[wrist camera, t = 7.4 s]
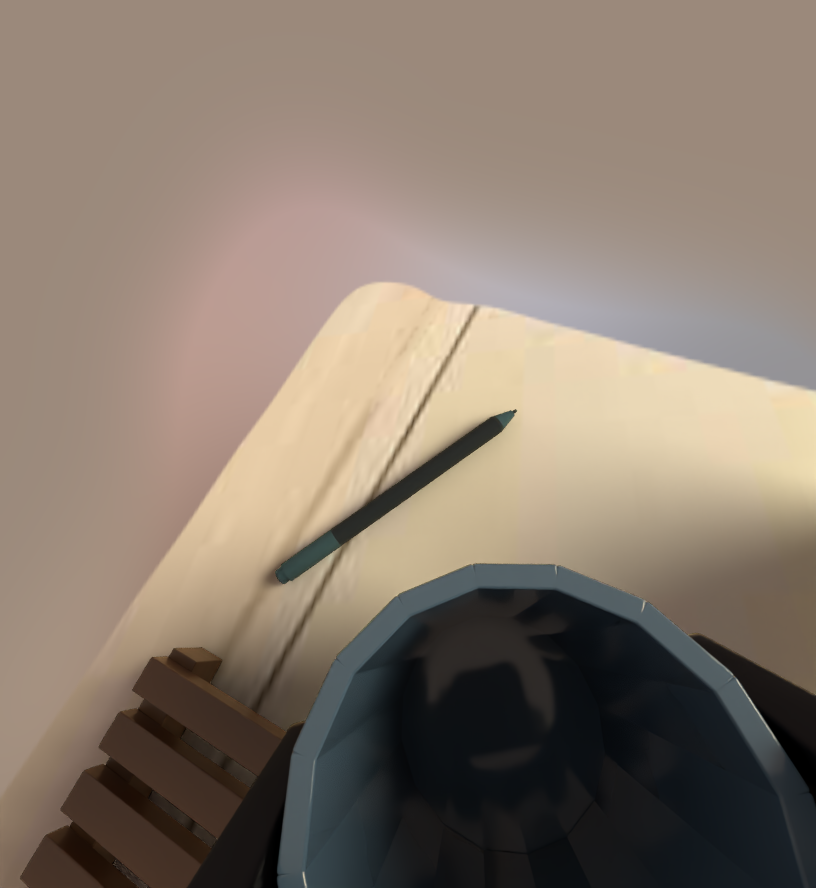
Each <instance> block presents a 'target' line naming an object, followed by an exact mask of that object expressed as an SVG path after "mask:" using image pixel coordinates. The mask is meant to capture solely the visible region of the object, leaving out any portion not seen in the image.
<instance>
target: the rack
mask: <svg viewBox="0 0 816 888" xmlns="http://www.w3.org/2000/svg"><path fill="white" fill-rule="evenodd" d="M221 662H222V659H220V658H219V657H217V656H215V655H214V654H212V653H210V652H209V651H207V650H205V649H204V648H202V647H199V648H174V649H173V650H172V652H171V654H170V655H169V657H167V656H163V657H152V658H151V659H150V661H149V662H148V664H147V666H146V667H145V669H144V671H143V672H142V674H141V676H140V677H139V679H138V681H137V682H136V684H135V686H134V687H133V689H132V691H134V692H135V693H137V694H138V695H140V696H141V697H142V698H144V700H143V702H142V703H141V705H140V707H139V708H138V709H136V708H134V709H129V710H125V711H120V712H119V713H118V715H117V716H116V718H115V720H114V721H113V723H112V725H111V726H110V728H109V730H108V731H107V733H106V735H105V736H104V738H103V740H102V741H101V743H100V745H99V748H100V749H101V750H102V751H104V752H105V753H106V754H107V755H109V756H110V758H109V760H108V762H107V763H106V765H104V764H101V765H98V766H95V767H92V768H89V769H86V770H84V771H83V773H82V774H81V776H80V778H79V779H78V781H77V783H76V784H75V786H74V788H73V789H72V791H71V793H70V794H69V796H68V798H67V799H66V801H65V803H64V804H63V806H62V808H61V811H62V812H63V813H64V814H65V815H67V816H68V817H69V818H70V819H71V820H72V823H71V825H70V826H64V827H62V828H60V829H58V830H56V831H54V832H51V833H49V834H47V835H46V836H45V837H44V838H43V840H42V842H41V843H40V845H39V847H38V848H37V850H36V852H35V853H34V855H33V857H32V858H31V860H30V862H29V863H28V865H27V867H26V868H25V870H24V872H23V873H22V875H21V877H20V879H21V880H22V881H23V882H24V883H25V884H26V885H27V886H28V887H29V888H139V887H138V886H136V885H135V884H134V883H133V882H132V881H131V880H130V879H128V878H127V877H126V876H125V875H124V874H123V873H122V872H120V871H119V870H118V869H117V868H116V867H115V866H114V865H112V864H113V862H114V860H115V858H116V859H118V860H119V861H120V862H121V863H122V864H123V865H125V866H126V867H127V868H128V869H129V870H130V871H131V872H133V873H134V874H135V875H136V876H137V877H138V878H140V879H141V880H142V881H143V882H144V883H145V884H147V885H148V886H149V887H150V888H186V887H187V886H188V884H189V883H190V881H191V880H192V878H193V877H194V875H195V873H196V872H197V870H198V869H199V867H200V866H201V864H202V863H203V861H204V859H205V858H206V856H207V855H208V853H209V852H210V850H211V849H212V848H211V847H210V846H208V845H207V844H206V843H204V842H203V841H202V840H201V839H199V838H198V837H197V836H195V835H194V834H193V833H192V832H190V831H189V830H188V829H186V828H185V827H184V826H183V825H181V824H180V823H179V822H177V821H176V820H175V819H174V818H172V817H171V816H170V815H168V814H167V813H166V812H165V811H163V810H162V809H161V808H159V807H158V806H157V805H156V804H154V803H153V802H152V801H150V800H149V799H148V797H149V795H150V793H151V791H152V790H154V791H156V792H157V793H158V794H160V795H161V796H162V797H164V798H165V799H166V800H167V801H169V802H170V803H171V804H173V805H174V806H175V807H177V808H178V809H179V810H181V811H182V812H183V813H184V814H186V815H187V816H188V817H190V818H191V819H192V820H194V821H195V822H196V823H198V824H199V825H200V826H201V827H203V828H204V829H205V830H207V831H208V832H209V833H211V834H212V835H213V836H214V837H216V838H217V839H218V838H219V836H220V834H221V833H222V831H223V830H224V828H225V827H226V825H227V824H228V822H229V820H230V819H231V817H232V816H233V814H234V813H235V811H236V810H237V808H238V806H239V805H240V803H241V802H242V800H243V799H244V797H245V796H246V794H247V792H248V791H249V789H250V788H249V787H248V786H247V785H245V784H244V783H242V782H241V781H239V780H238V779H237V778H235V777H234V776H232V775H231V774H229V773H228V772H227V771H225V770H224V769H222V768H221V767H219V766H218V765H217V764H215V763H214V762H212V761H211V760H209V759H208V758H207V757H205V756H204V755H202V754H201V753H199V752H198V751H197V750H195V749H194V748H192V747H191V746H189V745H188V744H187V743H185V742H184V741H182V740H181V739H180V738H181V736H182V734H183V732H184V730H185V729H186V728H188V729H189V730H191V731H192V732H194V733H195V734H197V735H198V736H199V737H201V738H202V739H204V740H205V741H207V742H208V743H210V744H211V745H213V746H214V747H216V748H217V749H218V750H220V751H221V752H223V753H224V754H226V755H227V756H229V757H230V758H232V759H233V760H235V761H236V762H237V763H239V764H240V765H242V766H243V767H245V768H246V769H248V770H249V771H251V772H252V773H254V774H255V775H256V776H258V775H259V774H260V772H261V771H262V769H263V767H264V766H265V764H266V763H267V761H268V760H269V758H270V757H271V755H272V753H273V752H274V750H275V749H276V747H277V746H278V744H279V743H280V741H281V739H282V738H283V736H284V735H285V733H286V731H284V730H283V729H281V728H280V727H278V726H276V725H275V724H273V723H272V722H270V721H269V720H267V719H265V718H264V717H262V716H261V715H259V714H257V713H256V712H254V711H253V710H251V709H249V708H248V707H246V706H245V705H243V704H242V703H240V702H238V701H237V700H235V699H234V698H232V697H230V696H229V695H227V694H226V693H224V692H222V691H221V690H219V689H218V688H216V687H215V686H213V685H211V684H210V682H211V680H212V679H213V677H214V675H215V673H216V671H217V669H218V668H219V666H220V664H221Z"/></svg>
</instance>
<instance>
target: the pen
mask: <svg viewBox="0 0 816 888" xmlns="http://www.w3.org/2000/svg"><path fill="white" fill-rule="evenodd" d="M516 412H517V410H516V409H515V410H513V411H511V410H510V411H508V412H505V413H502V414H499V415H496V416H493V417H491V418H489V419H488V420H486V421H485V422H483V423H482V424H481V425H479V426H478V427H476V428H475V429H473V430H472V431H471V432H469V433H468V434H466V435H465V436H463V437H462V438H461V439H459V440H458V441H456V442H455V443H454V444H452V445H451V446H449V447H448V448H446V449H445V450H444V451H442V452H441V453H439V454H438V455H436V456H435V457H434V458H432V459H431V460H429V461H428V462H426V463H425V464H424V465H422V466H421V467H419V468H418V469H416V470H415V471H414V472H412V473H411V474H409V475H408V476H407V477H405V478H404V479H402V480H401V481H399V482H398V483H397V484H395V485H394V486H392V487H391V488H389V489H388V490H387V491H385V492H384V493H382V494H381V495H379V496H378V497H377V498H375V499H374V500H372V501H371V502H369V503H368V504H367V505H365V506H364V507H362V508H361V509H360V510H358V511H357V512H355V513H354V514H352V515H351V516H350V517H348V518H347V519H345V520H344V521H342V522H341V523H340V524H338V525H337V526H335V527H334V528H332V529H331V530H330V531H328V532H327V533H325V534H324V535H322V536H321V537H320V538H318V539H317V540H315V541H314V542H313V543H311V544H310V545H308V546H307V547H305V548H304V549H303V550H301V551H300V552H298V553H297V554H295V555H294V556H293V557H291V558H290V559H288V560H287V561H285V562H284V563H283V564H281V567H280V568H279V569H277V570H276V571H275V574H276V577H277V579H278V580H279V581H280V582H281V583H282V584H285V583H287V582H288V581H289V580H290V581H292V580H294V579H295V578H297V577H298V576H299V575H301V574H302V573H304V572H305V571H306V570H308V569H309V568H311V567H312V566H314V565H315V564H316V563H318V562H319V561H321V560H322V559H323V558H325V557H326V556H328V555H329V554H330V553H332V552H333V551H335V550H336V549H337V548H339V547H340V546H342V545H343V544H344V543H346V542H347V541H349V540H350V539H351V538H353V537H354V536H356V535H357V534H359V533H360V532H361V531H363V530H364V529H366V528H367V527H368V526H370V525H371V524H373V523H374V522H375V521H377V520H378V519H380V518H381V517H382V516H384V515H385V514H387V513H388V512H389V511H391V510H392V509H394V508H395V507H396V506H398V505H399V504H401V503H402V502H403V501H405V500H406V499H408V498H409V497H411V496H412V495H413V494H415V493H416V492H418V491H419V490H420V489H422V488H423V487H425V486H426V485H427V484H429V483H430V482H432V481H433V480H434V479H436V478H437V477H439V476H440V475H441V474H443V473H444V472H446V471H447V470H448V469H450V468H451V467H453V466H454V465H456V464H457V463H458V462H460V461H461V460H463V459H464V458H465V457H467V456H468V455H470V454H471V453H472V452H474V451H475V450H477V449H478V448H479V447H481V446H482V445H484V444H485V443H486V442H488V441H489V440H491V439H492V438H493V437H495V436H496V435H498V434H499V433H500V432H502V430H503V429H504V428H505V427H506V425H507V424H508V423H509V422H510V420H511V419H512V418H513V417H514V413H516Z"/></svg>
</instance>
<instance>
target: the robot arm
mask: <svg viewBox="0 0 816 888" xmlns="http://www.w3.org/2000/svg"><path fill="white" fill-rule="evenodd" d="M687 635H688V636H690V637H691V638H692V639H693V640H694V641H695V642H697V643H698V644H699V645H700V646H701V647H703V648H704V649H705V650H706V651H707V652H708V653H710V654H711V655H712V656H713V657H714V658H716V659H717V660H718V661H719V662H720V663H721V664H723V665H724V666H725V667H726V668H727V669H728V670H730V671H731V672H732V673H733V676H735V677H736V678H737V679H738V680H739V682H740V683H741V685H742V686H743V688H744V689H745V691H746V693H747V694H748V696H749V697H750V699H751V700H752V702H753V703H754V705H755V706H756V708H757V709H758V711H759V712H760V714H761V715H762V717H763V718H764V720H765V722H766V723H767V725H768V726H769V728H770V729H771V731H772V732H773V734H774V735H775V737H776V738H777V740H778V741H779V743H780V744H781V746H782V747H783V749H784V751H785V752H786V754H787V755H788V757H789V758H790V760H791V761H792V763H793V764H794V766H795V767H796V769H797V770H798V772H799V773H800V775H801V776H802V778H803V780H804V781H805V783H806V784H807V786H808V787H809V789H810V792H809V793H811V794H812V796H813V798H814V801H815V804H816V695H815V694H813V693H811V692H809V691H807V690H805V689H803V688H802V687H800V686H798V685H796V684H794V683H792V682H790V681H788V680H787V679H785V678H783V677H781V676H779V675H777V674H775V673H774V672H772V671H770V670H768V669H766V668H764V667H762V666H760V665H759V664H757V663H755V662H753V661H751V660H749V659H747V658H745V657H744V656H742V655H740V654H738V653H736V652H734V651H732V650H731V649H729V648H727V647H725V646H723V645H721V644H719V643H717V642H716V641H714V640H712V639H710V638H708V637H706V636H704V635H702V634H699V633H692V634H687ZM304 723H305V721H302V722H297V723H294V724H292V725H291V726H290V727H289V729H288V730H287V732H286V733H285V735H284V736H283V738H282V739H281V741H280V743H279V744H278V746H277V747H276V749H275V750H274V752H273V753H272V755H271V757H270V758H269V760H268V761H267V763H266V764H265V766H264V767H263V769H262V771H261V772H260V774H259V775H258V777H257V778H256V780H255V782H254V783H253V785H252V786H251V788H250V789H249V791H248V792H247V794H246V796H245V797H244V799H243V800H242V802H241V803H240V805H239V806H238V808H237V810H236V811H235V813H234V814H233V816H232V817H231V819H230V820H229V822H228V824H227V825H226V827H225V828H224V830H223V831H222V833H221V834H220V836H219V838H218V839H217V841H216V842H215V844H214V845H213V847H212V849H211V850H210V852H209V853H208V855H207V856H206V858H205V859H204V861H203V863H202V864H201V866H200V867H199V869H198V870H197V872H196V873H195V875H194V877H193V878H192V880H191V881H190V883H189V884H188V886H187V887H186V888H278V885H277V876H278V874H277V864H278V856H279V848H280V840H281V832H282V825H283V817H284V809H285V801H286V793H287V785H288V777H289V769H290V761H291V755H292V752H293V747H294V745H295V743H296V741H297V738H298V736H299V734H300V732H301V730H302V728H303V725H304Z"/></svg>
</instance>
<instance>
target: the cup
mask: <svg viewBox="0 0 816 888" xmlns="http://www.w3.org/2000/svg"><path fill="white" fill-rule="evenodd" d="M809 792H810V789H809V787H808V786H807V784H806V783H805V781H804V780H803V778H802V776H801V775H800V773H799V772H798V770H797V769H796V767H795V766H794V764H793V763H792V761H791V760H790V758H789V757H788V755H787V754H786V752H785V751H784V749H783V747H782V746H781V744H780V743H779V741H778V740H777V738H776V737H775V735H774V734H773V732H772V731H771V729H770V728H769V726H768V725H767V723H766V722H765V720H764V718H763V717H762V715H761V714H760V712H759V711H758V709H757V708H756V706H755V705H754V703H753V702H752V700H751V699H750V697H749V696H748V694H747V693H746V691H745V689H744V688H743V686H742V685H741V683H740V682H739V680H738V679H737V678H736V677H735V676H733V673H732V672H731V671H730V670H728V669H727V668H726V667H725V666H724V665H723V664H721V663H720V662H719V661H718V660H717V659H716V658H714V657H713V656H712V655H711V654H710V653H708V652H707V651H706V650H705V649H704V648H703V647H701V646H700V645H699V644H698V643H697V642H695V641H694V640H693V639H692V638H691V637H690V636H688V635H687V634H686V633H685V632H684V631H682V630H681V629H680V628H679V627H678V626H677V625H675V624H674V623H673V622H672V621H671V620H669V619H668V618H667V617H666V616H665V615H664V614H662V613H661V612H660V611H659V610H658V609H656V608H655V607H654V606H653V605H652V604H651V603H649V602H645V600H644V599H643V598H640V597H638V596H635V595H633V594H630V593H628V592H625V591H623V590H620V589H618V588H615V587H613V586H610V585H608V584H605V583H603V582H600V581H598V580H595V579H593V578H590V577H588V576H585V575H583V574H580V573H578V572H575V571H573V570H570V569H568V568H565V567H563V566H560V565H558V566H556V565H554V564H486V563H475V564H473V565H471V564H470V565H467V566H465V567H462V568H460V569H457V570H455V571H453V572H450V573H448V574H445V575H443V576H441V577H438V578H436V579H433V580H431V581H429V582H426V583H424V584H421V585H419V586H417V587H414V588H412V589H409V590H407V591H405V592H402V593H400V594H399V595H398V596H396V597H394V598H393V599H392V600H391V601H390V602H389V603H388V604H387V605H386V606H385V607H384V608H383V609H382V610H381V611H380V612H379V613H378V614H377V615H376V616H375V617H374V618H373V619H372V620H371V621H370V622H369V623H368V624H367V625H366V626H365V627H364V628H363V629H362V630H361V631H360V632H359V633H358V634H357V635H356V636H355V637H354V638H353V639H352V641H351V642H350V643H349V644H348V645H347V646H346V647H345V648H344V649H343V650H342V651H341V652H340V653H339V654H338V655H337V656H336V659H334V660H333V662H332V664H331V667H330V669H329V671H328V673H327V675H326V678H325V680H324V682H323V684H322V686H321V688H320V691H319V693H318V695H317V697H316V699H315V701H314V704H313V706H312V708H311V710H310V712H309V715H308V717H307V719H306V721H305V723H304V725H303V728H302V730H301V732H300V734H299V736H298V738H297V741H296V743H295V745H294V747H293V752H292V755H291V761H290V769H289V777H288V785H287V793H286V801H285V809H284V817H283V825H282V832H281V840H280V848H279V856H278V864H277V874H278V876H277V885H278V888H816V804H815V801H814V798H813V796H812V794H811V793H809Z"/></svg>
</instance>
